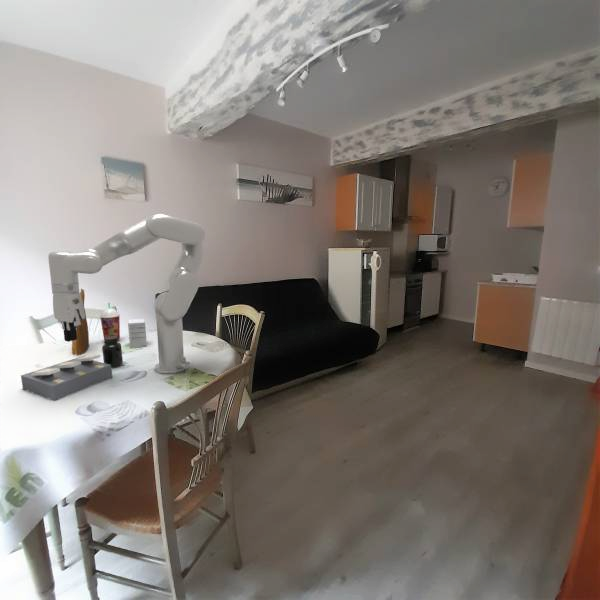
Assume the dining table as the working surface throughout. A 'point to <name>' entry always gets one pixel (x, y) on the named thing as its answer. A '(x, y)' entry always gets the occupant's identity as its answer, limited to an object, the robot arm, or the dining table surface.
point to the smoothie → (110, 322)
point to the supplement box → (137, 333)
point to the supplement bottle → (112, 352)
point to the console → (67, 379)
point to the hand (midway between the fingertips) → (71, 340)
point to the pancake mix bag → (81, 334)
